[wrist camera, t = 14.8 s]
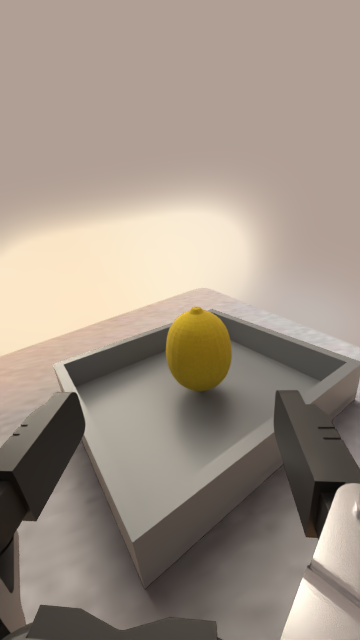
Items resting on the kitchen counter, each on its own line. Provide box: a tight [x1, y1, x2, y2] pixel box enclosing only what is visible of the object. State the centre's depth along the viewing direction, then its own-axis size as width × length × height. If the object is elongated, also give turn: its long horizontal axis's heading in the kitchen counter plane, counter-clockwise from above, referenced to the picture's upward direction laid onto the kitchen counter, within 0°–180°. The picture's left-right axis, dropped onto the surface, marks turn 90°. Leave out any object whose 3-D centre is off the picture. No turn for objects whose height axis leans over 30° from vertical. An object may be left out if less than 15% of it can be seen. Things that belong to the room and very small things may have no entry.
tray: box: [53, 309, 360, 589], centre depth 23 cm, size 18×20×4 cm
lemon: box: [166, 307, 232, 392], centre depth 22 cm, size 6×6×8 cm
